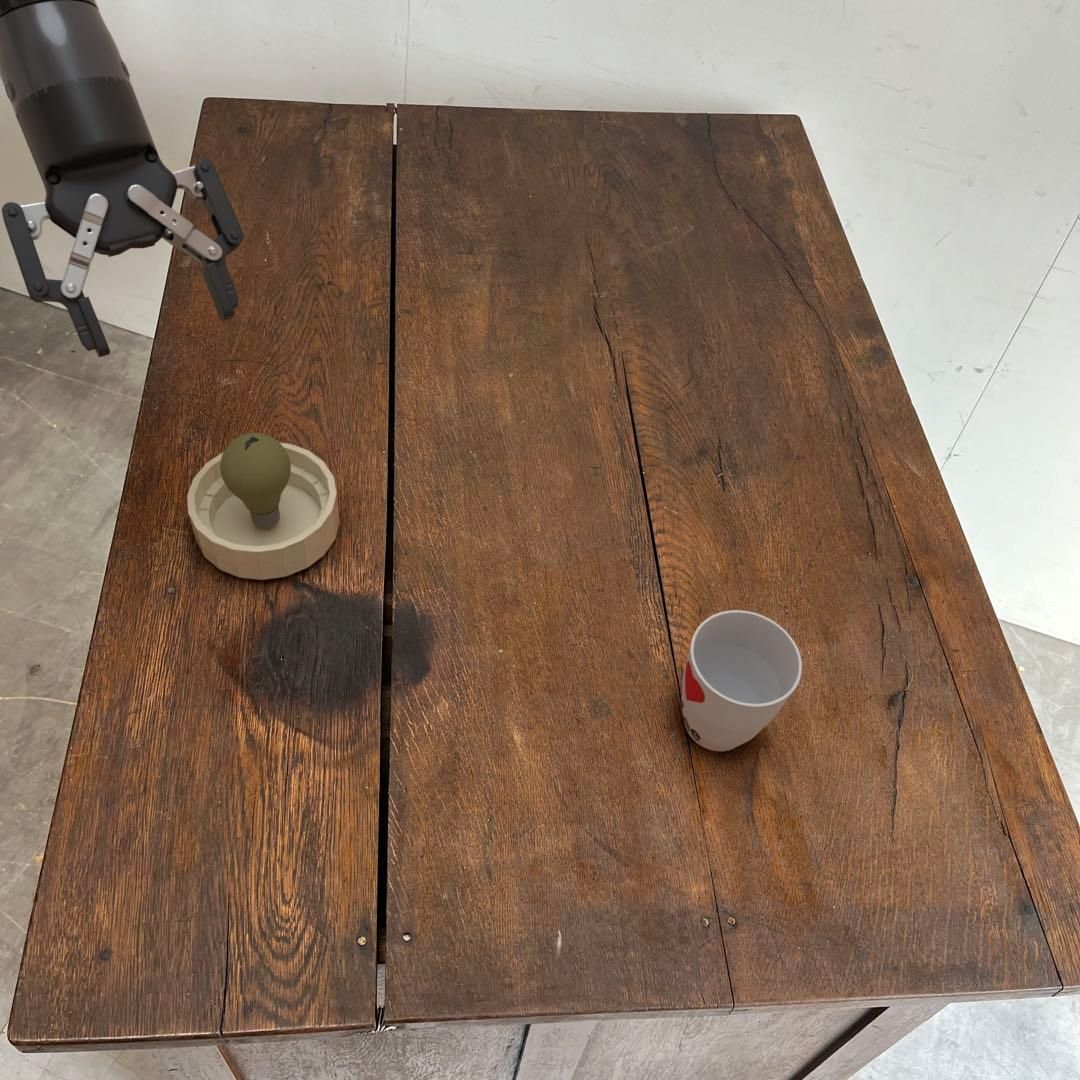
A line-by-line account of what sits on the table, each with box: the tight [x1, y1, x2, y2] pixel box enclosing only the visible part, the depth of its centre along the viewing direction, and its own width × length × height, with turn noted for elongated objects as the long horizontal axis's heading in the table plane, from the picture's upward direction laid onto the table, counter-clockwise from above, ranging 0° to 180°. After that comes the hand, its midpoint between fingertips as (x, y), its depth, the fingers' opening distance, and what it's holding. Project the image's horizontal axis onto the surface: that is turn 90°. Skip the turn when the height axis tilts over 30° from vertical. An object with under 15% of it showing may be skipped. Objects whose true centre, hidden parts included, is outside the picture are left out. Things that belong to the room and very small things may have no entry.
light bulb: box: [220, 432, 291, 528], centre depth 86 cm, size 6×6×10 cm
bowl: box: [186, 442, 341, 581], centre depth 89 cm, size 12×12×4 cm
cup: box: [680, 609, 803, 752], centre depth 78 cm, size 8×8×10 cm
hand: (167, 336), depth 70 cm, fingers open, 8 cm apart
